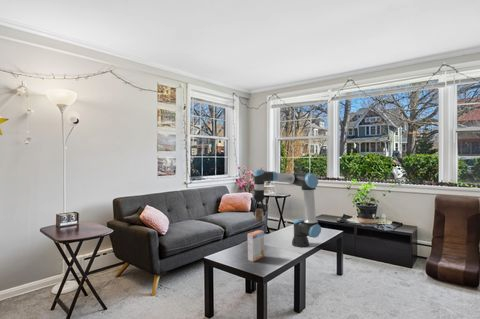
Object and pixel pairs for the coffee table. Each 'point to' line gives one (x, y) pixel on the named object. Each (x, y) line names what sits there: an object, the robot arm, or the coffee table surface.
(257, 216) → the walnut block
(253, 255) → the cracker box
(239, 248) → the coffee table surface
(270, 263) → the coffee table surface
